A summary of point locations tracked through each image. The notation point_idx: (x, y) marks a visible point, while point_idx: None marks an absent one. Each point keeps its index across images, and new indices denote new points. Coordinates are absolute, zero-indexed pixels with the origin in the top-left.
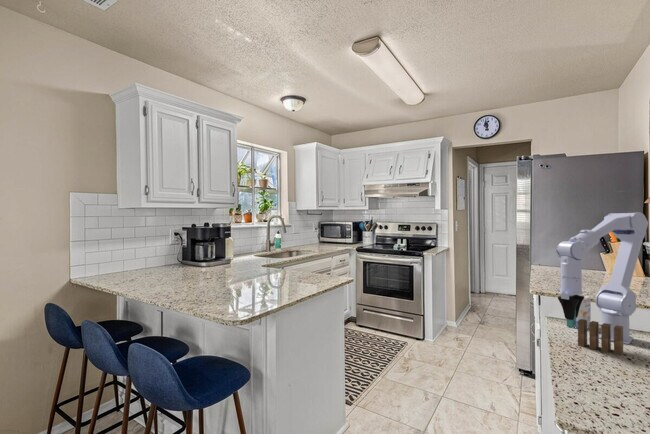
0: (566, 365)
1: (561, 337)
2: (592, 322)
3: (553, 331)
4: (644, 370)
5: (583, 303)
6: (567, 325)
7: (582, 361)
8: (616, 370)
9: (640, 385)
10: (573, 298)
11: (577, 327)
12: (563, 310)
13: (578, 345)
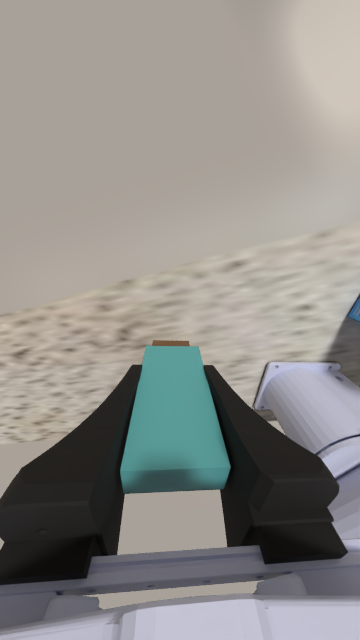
0: None
1: (209, 290)
2: None
3: (274, 251)
4: None
5: None
6: (146, 349)
7: (28, 369)
8: (42, 414)
9: (3, 440)
10: (235, 504)
11: (358, 306)
12: (110, 394)
13: (153, 342)
